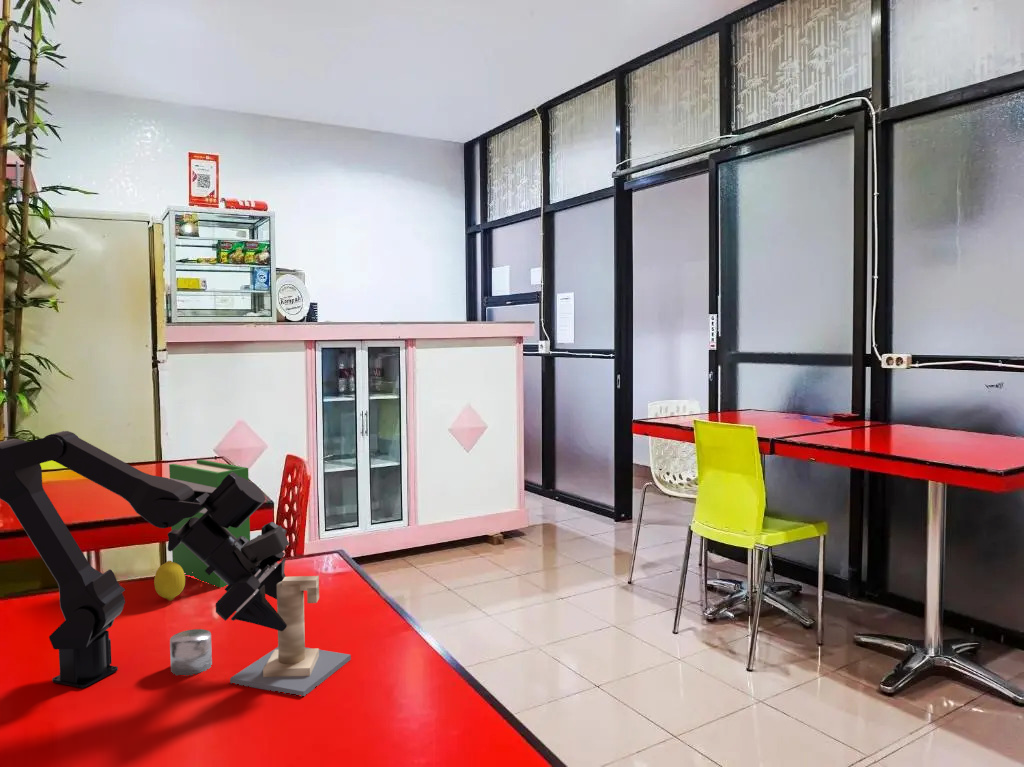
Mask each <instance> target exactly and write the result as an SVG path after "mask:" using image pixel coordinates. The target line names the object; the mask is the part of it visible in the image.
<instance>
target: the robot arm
mask: <svg viewBox="0 0 1024 767" xmlns="http://www.w3.org/2000/svg"><path fill="white" fill-rule="evenodd" d="M51 461H52V462H55V463H57V464H59V465H61V466H63V467H65V468H67V469H69V470H70V471H73V472H74V473H75V474H78V475H80V476H81V477H83V478H86V479H87V480H89V481H91V482H92V483H95V484H97V485H98V486H101V487H102V488H104V489H106V490H108V491H110V492H111V493H113V494H116V495H117V496H120V497H121V498H123V499H124V500H125V501H126V502H128V504H129V505H130V506H131V507H132V509H133V510H134V511H135V513H136V514H138V515H139V516H140V517H141V518H142V519H144V520H145V521H147V522H148V523H149V524H150V525H152V526H153V527H155V528H158V529H167V528H171V527H172V526H174V525H176V524H177V523H179V522H180V521H182V520H183V519H185V518H189V517H193V516H194V515H195V514H197V513H198V512H200V511H201V510H203V509H204V508H206V509H207V510H208V511H207V512H206V513H205V514H204V515H203V516H202V517H201V518H196V517H193V518H190V519H189V520H188V521H187V522H186V523H185V524H184V525H183V526H182V527H181V528H180V529H179V530H176V529H174V530H172V529H171V531H169V532H168V533H167V537H168V541H167V551H168V552H172V550H174V549H175V548H176V547H177V546H179V545H180V544H181V543H183V544H184V545H185V546H186V547H187V548H188V549H189V550H190V551H191V552H192V553H194V554H195V555H196V556H197V557H198V558H199V559H200V560H201V561H202V562H204V564H206V565H207V566H208V568H207V569H206V570H205V572H206V573H207V574H208V575H210V574H211V573H212V572H214V573H215V574H216V575H217V576H219V577H220V578H221V579H222V580H223V581H224V582H225V583H226V584H227V585H228V586H226V587H224V590H225V591H226V592H225V593H224V594H222V596H221V597H220V598H219V599H218V601H217V602H216V603H215V613H216V614H217V615H219V617H221V619H223V620H224V621H225V622H226V621H227V620H228V619H230V620H231V621H232V622H234V621H235V620H236V621H240V622H243V623H244V622H245V623H249V624H254V625H257V626H262V627H265V628H267V629H272V630H276V631H278V630H279V631H283V630H284V629H285V628H286V627H287V624H286V623H285V622H284V620H283V619H282V618H281V616H280V615H279V614H278V613H277V610H276V609H275V607H273V606H272V604H270V602H269V601H268V599H267V598H266V595H267V596H269V597H271V598H273V599H275V600H277V583H279V582H281V581H282V580H283V579H284V577H287V576H286V574H285V566H286V564H285V563H286V558H285V557H284V556H285V554H286V553H285V552H284V551H285V550H286V548H287V546H289V545H290V542H289V540H288V538H287V536H286V534H287V529H285V528H283V527H282V525H278V524H276V523H275V522H274V521H271V522H268V523H267V524H266V523H265V525H263V526H262V527H261V532H260V533H261V534H259V535H257V536H256V537H254V538H252V539H250V541H249V540H248V539H247V538H245V537H244V536H240V537H239V538H236V537H235V536H233V535H232V534H231V533H230V532H229V531H228V530H227V529H226V528H229V527H230V526H231V527H234V528H238V527H240V526H241V525H242V524H243V523H244V522H245V521H246V520H247V519H248V518H249V517H251V516H252V515H253V514H254V513H255V512H256V511H257V510H258V509H260V507H261V506H262V505H263V504H264V503H265V502H266V496H265V495H264V493H263V491H262V490H261V488H259V486H257V484H256V483H254V482H251V481H250V480H249V481H248V480H246V479H245V478H242V477H239V476H238V475H237V474H235V473H234V472H232V473H230V474H228V475H227V476H226V477H225V478H224V479H223V481H222V483H221V484H220V485H219V486H218V487H217V488H216V489H215V490H214V491H213V492H205V491H197V490H193V489H192V488H191V487H189V486H188V485H186V484H183V483H180V482H178V481H175V480H172V479H170V477H163V476H159V475H153V474H149V473H146V472H143V471H141V470H140V469H137V467H134V466H132V465H130V464H129V463H126V462H125V461H123V460H121V459H119V458H117V457H115V456H114V455H112V454H110V453H107V451H104V450H103V449H100V448H99V447H97V446H95V445H93V444H91V443H89V442H87V441H85V440H84V439H82V438H80V437H79V436H78V435H77V434H76V433H74V432H72V431H69V430H62V431H59V432H55V433H50V434H48V435H46V436H44V437H42V438H37V439H34V440H31V441H26V440H23V439H19V438H10V439H6V440H2V441H0V500H1V501H3V502H5V504H7V505H8V506H9V507H10V509H11V510H12V512H13V514H14V516H15V517H16V519H17V520H18V522H19V523H20V525H21V527H22V528H23V530H24V531H25V533H26V534H27V536H28V538H29V539H30V541H31V543H32V545H33V546H34V548H35V549H36V551H37V553H38V554H39V555H40V556H39V557H41V559H42V561H43V562H44V563H45V565H46V567H47V568H48V571H49V572H50V574H51V575H52V576H53V578H54V579H55V581H56V583H57V586H58V590H59V591H58V594H59V607H60V610H61V612H62V615H63V617H64V621H63V622H62V623H61V624H60V625H58V627H57V628H56V629H55V630H54V631H53V632H52V633H51V634H50V635H49V636H48V639H49V641H50V644H51V646H52V648H53V650H58V660H59V661H58V662H59V675H56V676H54V677H52V680H51V681H52V683H55V684H59V685H66V686H70V687H74V688H80V689H84V688H87V687H89V686H91V685H93V684H94V683H97V682H98V681H100V680H102V679H104V678H105V677H108V676H110V675H112V674H114V673H116V672H118V670H119V667H118V666H115V665H112V641H111V640H112V639H110V636H109V633H110V632H109V631H108V629H110V628H111V627H112V626H113V624H114V621H115V619H116V618H117V617H118V616H120V615H121V613H122V612H123V609H124V607H125V606H124V605H125V604H126V599H125V596H124V594H123V593H124V592H125V591H126V589H125V587H123V586H122V585H121V584H120V583H119V582H118V580H117V578H116V575H115V573H114V572H113V571H112V569H108V570H106V571H105V572H103V573H102V572H101V571H99V570H98V569H96V568H94V567H93V566H92V565H91V564H90V562H89V561H88V559H87V558H86V556H85V554H84V553H83V551H82V549H81V548H80V546H79V545H78V542H76V539H75V538H74V537H73V535H72V533H71V531H70V530H69V528H68V526H67V525H66V524H65V521H64V520H63V518H62V517H61V515H60V513H59V512H58V510H57V508H56V507H55V506H54V504H53V502H52V501H51V499H50V497H49V496H48V494H47V493H46V490H45V489H44V486H43V470H42V466H41V464H43V463H47V462H51ZM283 557H284V558H283ZM281 559H282V560H281ZM278 562H279V563H278ZM230 617H231V618H230Z"/></svg>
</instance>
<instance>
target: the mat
mask: <svg viewBox="0 0 1024 767" xmlns="http://www.w3.org/2000/svg"><path fill="white" fill-rule="evenodd" d="M277 649H278V646H277V647H275V648H274V649H273V650H271V651H269V652H268V653H266V654H265V655H263V656H262V657H260V658H259V659H257V660H255V661H254V662H252V663H251V664H250V665H248V666H246V667H245V668H243V669H242V670H240V671H239V672H237V673H235V674H234V675H233V676H231V677H229V681H230V682H229V683H230V684H232V683H235V684H234V685H237V684H239V685H238V686H243V685H244V687H248V686H249V687H250V688H253V689H254V688H255V689H260V690H264V691H270V690H271V692H275V691H278V692H277V693H280V692H284V693H283V694H286V693H290V694H289V695H291V694H296V695H301V696H300V697H302V696H304V697H305V696H307V695H308V694H309V693H310V692H312V691H313V690H314V689H315V687H316V686H317V687H319V685H321V684H322V683H323V682H325V681H326V680H327V679H329V677H330V676H332V675H333V674H335V673H336V672H337V671H338V670H339V669H341V668H342V667H344V665H346V664H347V663H348V662H349V661H351V660H352V657H351V656H352V655H351V654H349V653H343V652H336V651H330V650H323V649H319V657H318V659H317V661H316V664H315V666H314V668H313V670H312V673H311V675H310V676H282V677H263V669H264V667H265V665H266V664H267V662H268V660H269V659H270V657H271V655H272V653H273V652H274V650H277ZM305 649H313V648H311V647H306V646H305ZM317 687H316V688H317ZM306 694H307V695H306ZM296 695H295V696H296Z"/></svg>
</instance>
